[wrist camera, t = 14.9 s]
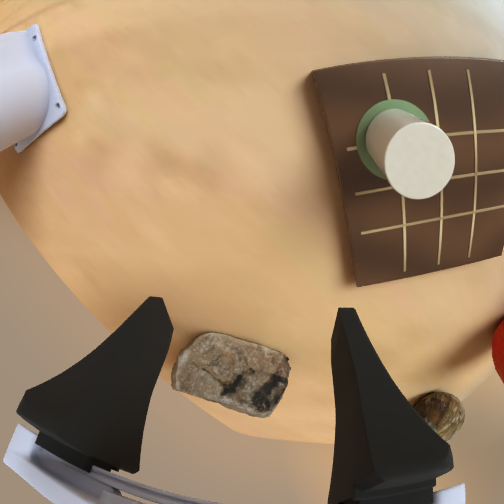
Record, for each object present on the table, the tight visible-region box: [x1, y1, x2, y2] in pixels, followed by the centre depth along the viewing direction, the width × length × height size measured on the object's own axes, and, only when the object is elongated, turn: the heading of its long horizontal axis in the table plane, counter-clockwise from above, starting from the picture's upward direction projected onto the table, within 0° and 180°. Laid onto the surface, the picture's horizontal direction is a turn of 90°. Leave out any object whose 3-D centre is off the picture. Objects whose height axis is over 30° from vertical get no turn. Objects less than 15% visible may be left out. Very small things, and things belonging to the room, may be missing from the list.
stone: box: [171, 332, 291, 418], centre depth 28 cm, size 7×12×7 cm, turn 80°
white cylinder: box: [366, 109, 455, 199], centre depth 13 cm, size 4×4×4 cm
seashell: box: [414, 392, 465, 441], centre depth 32 cm, size 11×9×8 cm
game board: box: [312, 57, 504, 287], centre depth 16 cm, size 16×14×1 cm
